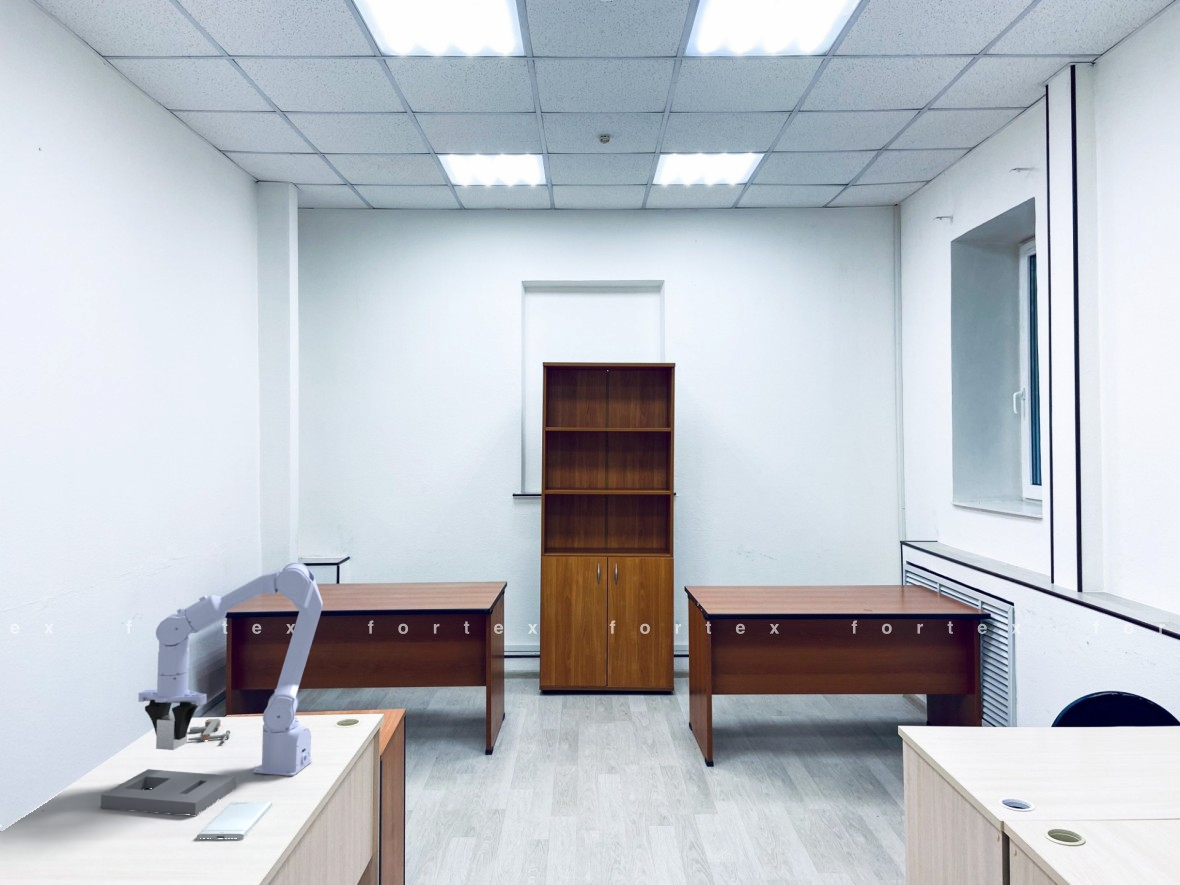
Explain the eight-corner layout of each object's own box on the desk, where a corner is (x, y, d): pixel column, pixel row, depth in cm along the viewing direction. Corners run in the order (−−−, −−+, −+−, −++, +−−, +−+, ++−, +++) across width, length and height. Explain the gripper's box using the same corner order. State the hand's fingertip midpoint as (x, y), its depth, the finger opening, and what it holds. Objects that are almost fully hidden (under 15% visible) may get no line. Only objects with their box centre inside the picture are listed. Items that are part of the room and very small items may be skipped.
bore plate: (235, 788, 148) (235, 776, 148) (195, 816, 136) (195, 802, 136) (147, 781, 151) (148, 769, 151) (100, 808, 139) (101, 794, 139)
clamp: (194, 719, 182) (237, 716, 185) (194, 728, 182) (237, 725, 185) (178, 741, 168) (225, 737, 171) (177, 751, 168) (225, 747, 170)
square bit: (186, 743, 154) (187, 714, 154) (173, 750, 150) (174, 720, 150) (169, 741, 155) (170, 713, 155) (156, 748, 151) (157, 719, 151)
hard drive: (230, 801, 140) (196, 833, 128) (272, 801, 140) (243, 832, 128) (229, 810, 140) (196, 842, 127) (272, 809, 140) (243, 842, 128)
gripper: (127, 675, 150) (125, 741, 149) (190, 679, 148) (188, 746, 147) (153, 666, 157) (151, 729, 156) (214, 670, 154) (212, 734, 154)
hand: (171, 737), depth 152 cm, fingers closed on square bit, 4 cm apart
